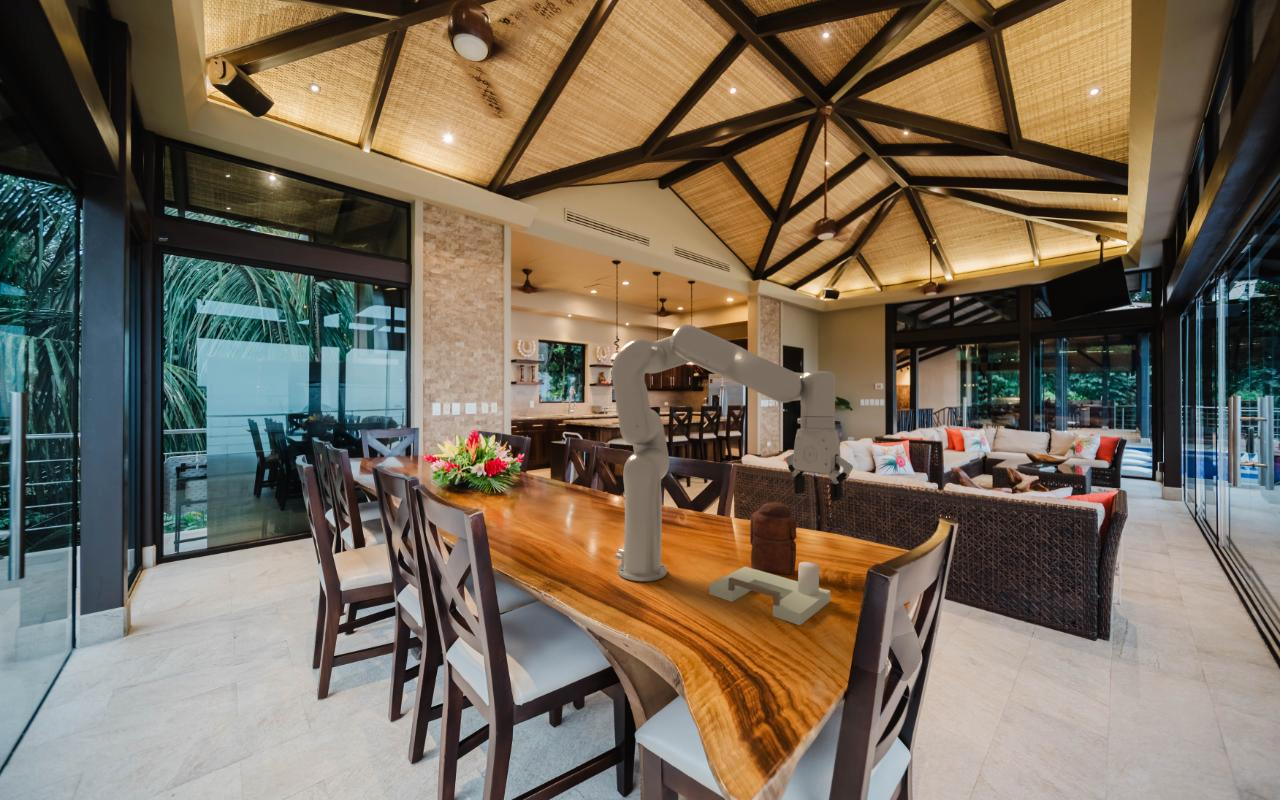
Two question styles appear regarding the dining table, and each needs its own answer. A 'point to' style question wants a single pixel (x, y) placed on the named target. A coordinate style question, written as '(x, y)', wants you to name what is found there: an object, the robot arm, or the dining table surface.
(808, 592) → the white cylinder
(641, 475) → the robot arm
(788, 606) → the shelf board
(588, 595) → the dining table surface
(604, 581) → the dining table surface
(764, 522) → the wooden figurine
